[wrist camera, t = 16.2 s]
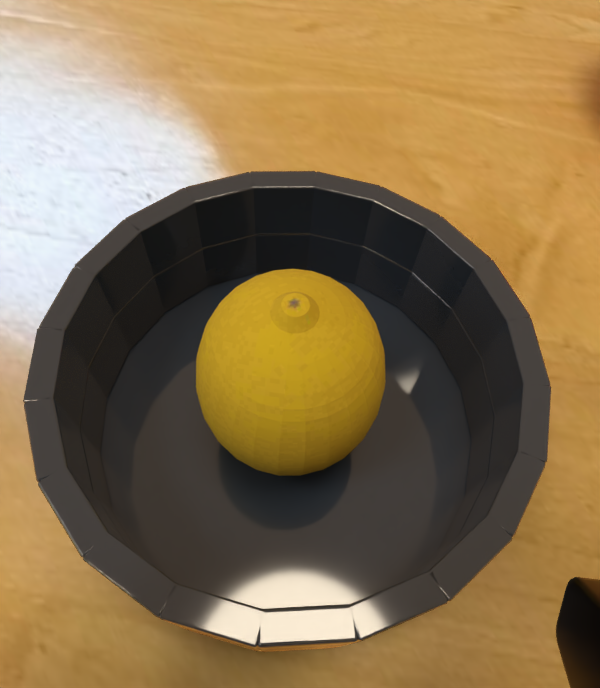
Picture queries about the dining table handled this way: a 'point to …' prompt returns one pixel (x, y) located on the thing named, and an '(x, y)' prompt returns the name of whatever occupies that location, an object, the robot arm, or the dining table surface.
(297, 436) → the lemon
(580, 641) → the robot arm
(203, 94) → the dining table surface
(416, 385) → the pot
